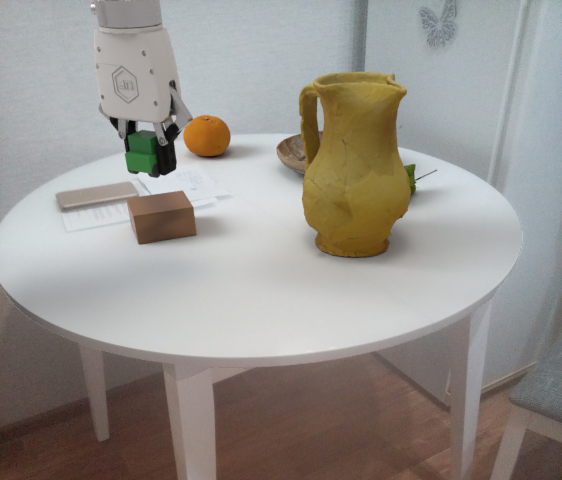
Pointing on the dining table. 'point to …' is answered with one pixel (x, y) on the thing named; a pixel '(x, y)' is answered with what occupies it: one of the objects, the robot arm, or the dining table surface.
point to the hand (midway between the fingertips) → (152, 168)
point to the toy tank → (413, 176)
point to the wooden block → (161, 216)
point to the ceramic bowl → (293, 153)
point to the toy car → (143, 153)
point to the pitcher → (353, 162)
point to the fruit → (207, 136)
